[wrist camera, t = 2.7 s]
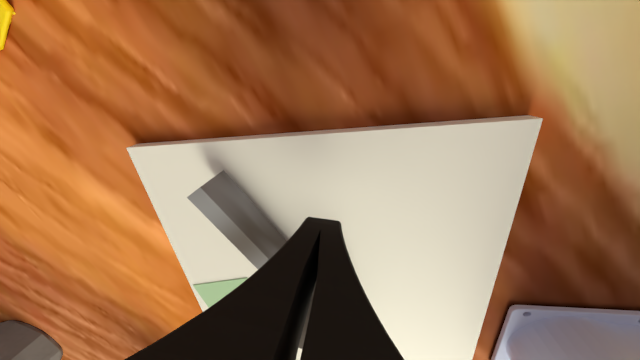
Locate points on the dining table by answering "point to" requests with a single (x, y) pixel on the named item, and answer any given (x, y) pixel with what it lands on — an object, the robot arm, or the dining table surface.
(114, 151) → the dining table surface
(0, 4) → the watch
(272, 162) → the dial plate
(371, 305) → the robot arm
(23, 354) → the coffeepot
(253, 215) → the grey lever with knob
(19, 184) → the dining table surface
